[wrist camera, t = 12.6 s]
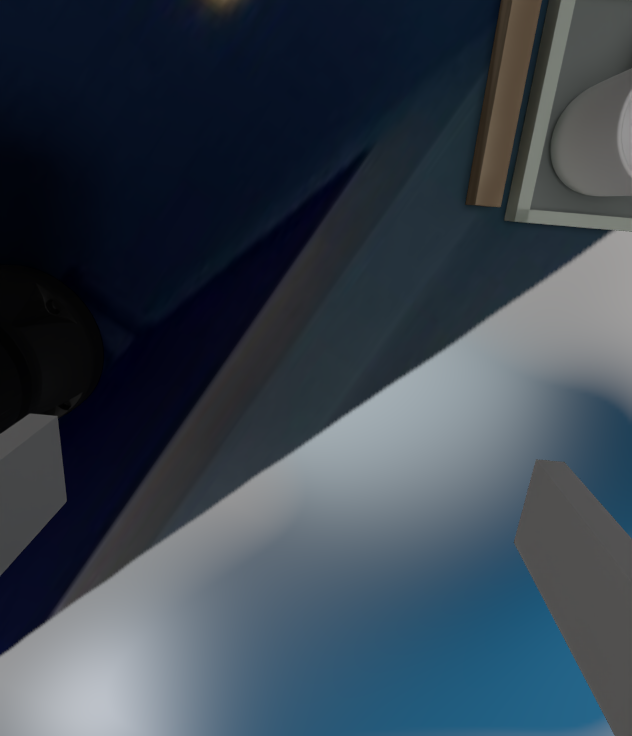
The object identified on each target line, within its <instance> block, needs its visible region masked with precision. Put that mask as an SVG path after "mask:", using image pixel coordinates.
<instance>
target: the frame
mask: <svg viewBox="0 0 632 736" xmlns="http://www.w3.org/2000/svg"><path fill="white" fill-rule="evenodd" d="M631 68H632V0H549V3H548V7H547V12H546V17H545V22H544V27H543V32H542V37H541V42H540V47H539V52H538V57H537V61H536V66H535V71H534V76H533V81H532V86H531V91H530V96H529V101H528V106H527V111H526V115H525V120H524V125H523V130H522V135H521V140H520V145H519V150H518V155H517V160H516V164H515V169H514V174H513V179H512V184H511V189H510V194H509V199H508V204H507V209H506V214H505V218H504V220H506V221H514V222H526V223H537V224H549V225H561V226H572V227H584V228H595V229H607V230H618V231H630V232H632V196H589V195H584V194H581V193H578V192H575V191H573V190H572V189H570V188H568V187H567V186H566V185H565V184H564V183H563V182H562V181H561V180H560V179H559V177H558V176H557V174H556V172H555V170H554V168H553V164H552V160H551V151H550V148H551V139H552V134H553V131H554V128H555V126H556V123H557V121H558V119H559V117H560V116H561V114H562V113H563V111H564V110H565V108H566V107H567V106H568V105H569V104H570V103H571V102H572V101H573V100H574V99H575V98H576V97H577V96H578V95H580V94H581V93H582V92H584V91H585V90H587V89H588V88H590V87H592V86H594V85H596V84H598V83H600V82H602V81H604V80H606V79H609V78H611V77H613V76H615V75H618V74H620V73H622V72H624V71H627V70H629V69H631Z"/></svg>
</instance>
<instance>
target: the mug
mask: <svg viewBox="0 0 632 736" xmlns="http://www.w3.org/2000/svg"><path fill="white" fill-rule="evenodd" d="M550 151H551V160H552V164H553V168H554V170H555V172H556V174H557V176H558V177H559V179H560V180H561V181H562V182H563V183H564V184H565V185H566V186H567V187H568V188H570V189H572V190H573V191H575V192H578V193H581V194H584V195H589V196H632V68H631V69H629V70H627V71H624V72H622V73H620V74H618V75H615V76H613V77H611V78H609V79H606V80H604V81H602V82H600V83H598V84H596V85H594V86H592V87H590V88H588V89H587V90H585V91H584V92H582V93H581V94H580V95H578V96H577V97H576V98H575V99H574V100H573V101H572V102H571V103H570V104H569V105H568V106H567V107H566V108H565V110H564V111H563V113H562V114H561V116H560V117H559V119H558V121H557V123H556V126H555V128H554V131H553V134H552V139H551V148H550Z"/></svg>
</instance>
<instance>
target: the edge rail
mask: <svg viewBox="0 0 632 736" xmlns="http://www.w3.org/2000/svg"><path fill="white" fill-rule="evenodd" d="M541 2H542V0H501V5H500V10H499V16H498V22H497V27H496V33H495V39H494V45H493V50H492V56H491V62H490V67H489V73H488V79H487V84H486V90H485V96H484V101H483V107H482V113H481V118H480V124H479V130H478V135H477V141H476V147H475V152H474V158H473V164H472V170H471V175H470V181H469V187H468V192H467V198H466V205H477V206H489V207H501V202H502V197H503V192H504V187H505V182H506V177H507V172H508V167H509V162H510V157H511V152H512V147H513V142H514V137H515V132H516V127H517V122H518V117H519V112H520V107H521V102H522V97H523V92H524V87H525V82H526V77H527V72H528V67H529V62H530V57H531V52H532V47H533V42H534V37H535V32H536V27H537V22H538V17H539V12H540V7H541Z"/></svg>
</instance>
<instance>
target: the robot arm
mask: <svg viewBox="0 0 632 736" xmlns="http://www.w3.org/2000/svg"><path fill="white" fill-rule="evenodd" d="M102 367H103V345H102V340H101V336H100V333H99V330H98V327H97V325H96V323H95V321H94V319H93V317H92V315H91V313H90V312H89V310H88V309H87V307H86V306H85V305H84V303H83V302H82V301H81V300H80V298H79V297H78V296H77V295H76V294H75V293H74V292H73V291H72V290H70V289H69V288H68V287H67V286H66V285H64V284H63V283H62V282H60V281H59V280H57V279H55V278H54V277H52V276H50V275H48V274H46V273H44V272H41V271H39V270H36V269H33V268H29V267H25V266H19V265H0V575H1V574H2V573H3V572H4V571H5V570H6V569H7V567H8V566H9V565H10V564H11V563H12V562H13V561H14V560H15V558H16V557H17V556H18V555H19V554H20V553H21V552H22V551H23V550H24V548H25V547H26V546H27V545H28V544H29V543H30V542H31V541H32V539H33V538H34V537H35V536H36V535H37V534H38V533H39V532H40V531H41V529H42V528H43V527H44V526H45V525H46V524H47V523H48V522H49V520H50V519H51V518H52V517H53V516H54V515H55V514H56V513H57V512H58V510H59V509H60V508H61V507H62V506H63V505H64V504H65V503H66V501H67V498H66V489H65V480H64V471H63V462H62V453H61V444H60V435H59V425H58V418H60V417H62V416H64V415H66V414H67V413H69V412H70V411H72V410H73V409H74V408H76V407H77V406H78V405H79V404H81V403H82V402H83V401H84V400H85V399H87V397H88V396H89V395H90V394H91V393H92V391H93V390H94V388H95V387H96V385H97V383H98V381H99V378H100V375H101V372H102ZM514 543H515V545H516V548H517V549H518V551H519V553H520V555H521V557H522V559H523V561H524V563H525V565H526V567H527V569H528V570H529V572H530V574H531V576H532V578H533V580H534V582H535V584H536V586H537V587H538V590H539V592H540V593H541V595H542V597H543V599H544V601H545V603H546V605H547V607H548V609H549V611H550V613H551V614H552V616H553V618H554V620H555V622H556V624H557V626H558V628H559V630H560V632H561V633H562V635H563V637H564V639H565V641H566V643H567V645H568V647H569V648H570V651H571V653H572V654H573V656H574V658H575V660H576V662H577V664H578V666H579V668H580V670H581V671H582V674H583V676H584V677H585V679H586V681H587V683H588V685H589V687H590V689H591V691H592V693H593V695H594V697H595V698H596V700H597V702H598V704H599V706H600V708H601V710H602V712H603V714H604V716H605V718H606V720H607V722H608V723H609V725H610V727H611V729H612V731H613V733H614V735H615V736H632V539H631V538H630V536H629V535H628V534H627V533H626V532H625V531H624V530H623V528H622V527H621V526H620V525H619V524H618V523H617V522H616V520H615V519H614V518H613V517H612V516H611V515H610V514H609V512H608V511H607V510H606V509H605V508H604V507H603V506H602V504H601V503H600V502H599V501H598V500H597V499H596V498H595V496H594V495H593V494H592V493H591V492H590V491H589V490H588V489H587V487H586V486H585V485H584V484H583V483H582V482H581V481H580V479H579V478H578V477H577V476H576V475H575V474H574V473H573V472H572V470H571V469H570V468H569V467H568V466H567V465H566V463H565V462H557V461H547V460H536V462H535V466H534V469H533V473H532V477H531V480H530V484H529V488H528V491H527V495H526V499H525V503H524V507H523V510H522V514H521V518H520V521H519V525H518V529H517V533H516V536H515V540H514Z"/></svg>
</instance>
